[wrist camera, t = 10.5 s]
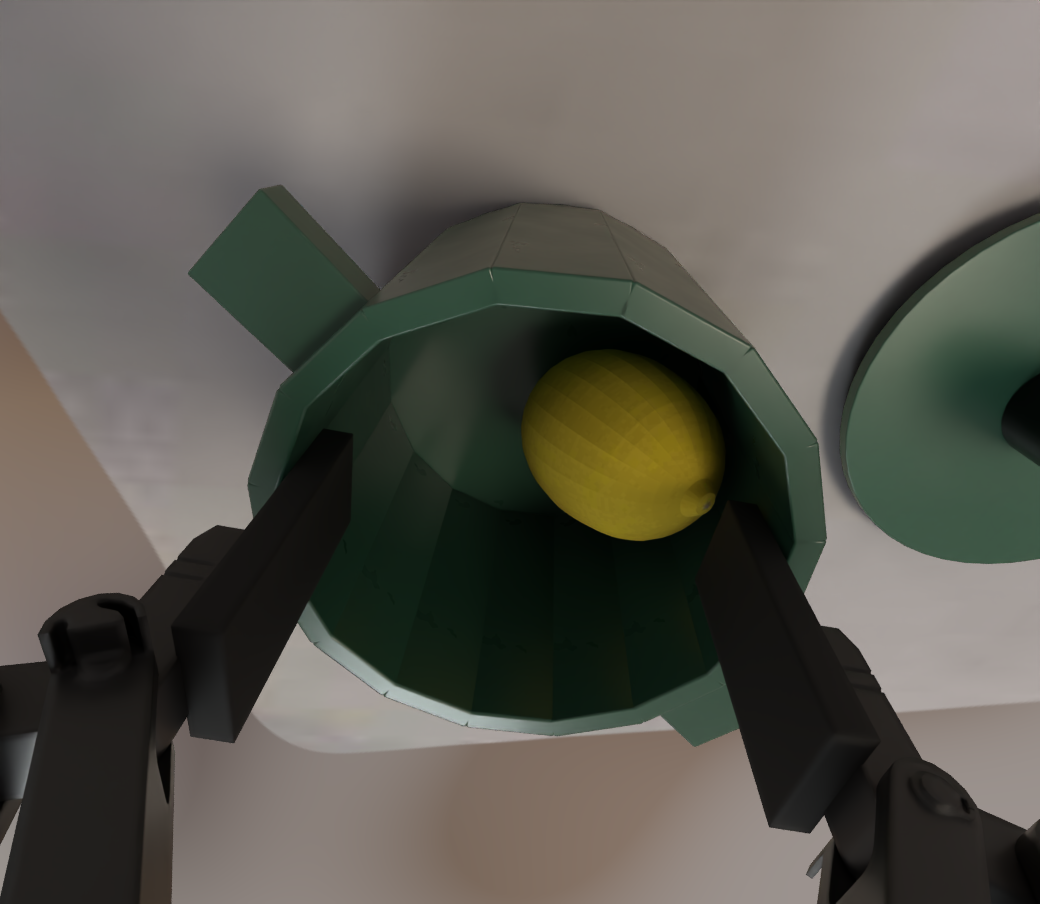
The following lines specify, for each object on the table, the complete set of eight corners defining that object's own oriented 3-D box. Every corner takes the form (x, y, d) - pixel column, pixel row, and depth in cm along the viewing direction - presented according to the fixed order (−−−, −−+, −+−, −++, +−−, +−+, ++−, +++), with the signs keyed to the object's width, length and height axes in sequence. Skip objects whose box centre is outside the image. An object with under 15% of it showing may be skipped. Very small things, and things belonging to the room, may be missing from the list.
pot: (514, 31, 17) (465, -76, 8) (809, 453, 24) (969, 662, 14) (252, 307, 22) (32, 438, 13) (557, 599, 28) (557, 827, 19)
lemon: (473, 468, 21) (605, 610, 15) (492, 319, 19) (657, 417, 13) (593, 453, 24) (744, 567, 18) (623, 321, 22) (808, 403, 16)
